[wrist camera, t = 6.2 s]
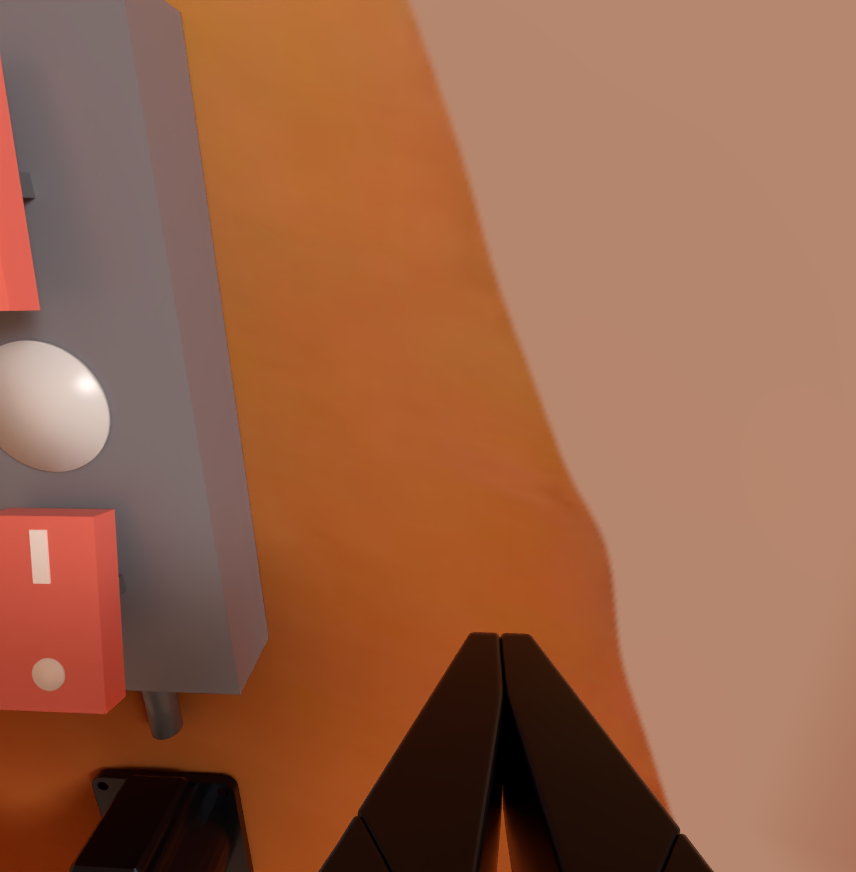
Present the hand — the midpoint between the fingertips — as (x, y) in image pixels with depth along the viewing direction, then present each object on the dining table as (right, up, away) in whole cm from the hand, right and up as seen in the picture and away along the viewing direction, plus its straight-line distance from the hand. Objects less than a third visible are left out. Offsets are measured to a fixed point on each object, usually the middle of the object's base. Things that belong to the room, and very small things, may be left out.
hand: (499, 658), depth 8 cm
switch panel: (-12, +3, +13) cm, 18 cm away
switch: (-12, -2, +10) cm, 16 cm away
